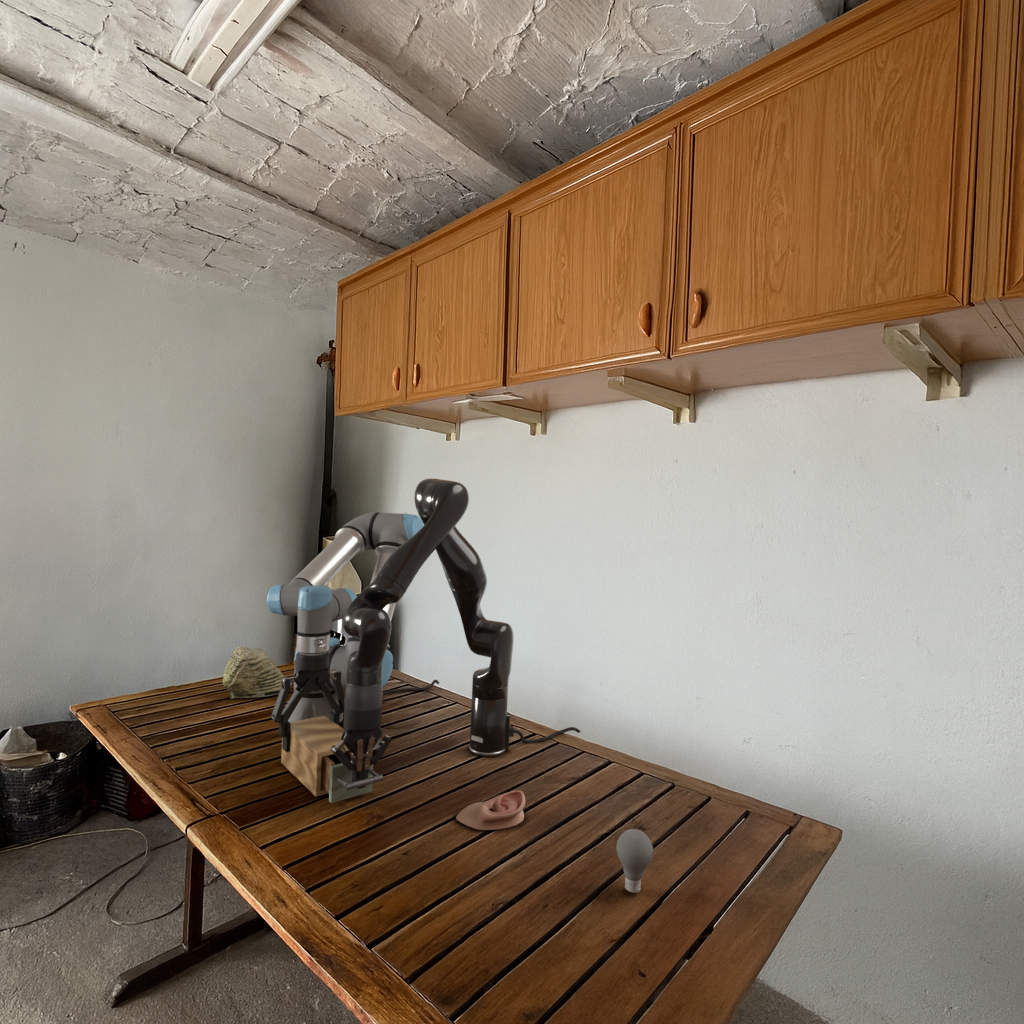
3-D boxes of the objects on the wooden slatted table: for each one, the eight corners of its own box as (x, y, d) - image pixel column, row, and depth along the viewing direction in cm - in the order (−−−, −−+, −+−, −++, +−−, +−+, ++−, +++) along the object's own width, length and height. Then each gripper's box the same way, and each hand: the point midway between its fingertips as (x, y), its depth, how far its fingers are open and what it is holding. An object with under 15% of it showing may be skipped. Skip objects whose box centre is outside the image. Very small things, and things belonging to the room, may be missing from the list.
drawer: (385, 802, 131) (386, 767, 131) (343, 814, 125) (344, 778, 125) (334, 760, 150) (335, 729, 150) (295, 769, 144) (296, 737, 144)
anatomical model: (452, 805, 124) (467, 780, 135) (451, 826, 124) (467, 799, 135) (518, 815, 121) (529, 789, 132) (517, 836, 121) (528, 808, 132)
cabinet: (361, 784, 140) (363, 742, 140) (315, 797, 134) (317, 753, 133) (323, 752, 156) (324, 715, 156) (281, 762, 150) (282, 723, 149)
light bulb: (610, 879, 108) (613, 822, 108) (644, 879, 109) (647, 822, 109) (619, 902, 102) (622, 840, 102) (655, 901, 103) (658, 840, 103)
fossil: (218, 695, 195) (220, 647, 195) (278, 685, 208) (279, 640, 207) (228, 703, 189) (230, 653, 188) (289, 692, 201) (290, 645, 201)
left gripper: (269, 661, 139) (265, 761, 140) (364, 649, 154) (361, 739, 154) (257, 654, 145) (254, 750, 146) (351, 643, 160) (347, 730, 160)
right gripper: (340, 714, 122) (336, 803, 122) (401, 702, 130) (397, 785, 131) (324, 703, 128) (321, 787, 128) (384, 692, 136) (380, 772, 136)
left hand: (309, 744), depth 150 cm, fingers closed on cabinet, 10 cm apart
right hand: (359, 786), depth 129 cm, fingers closed
